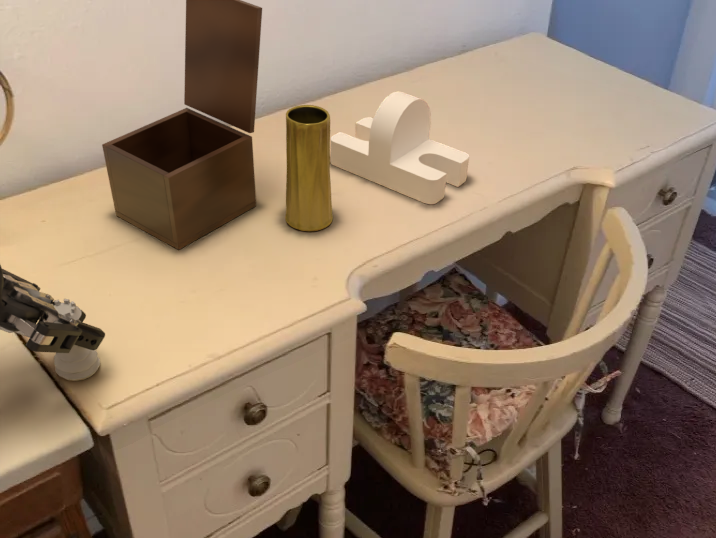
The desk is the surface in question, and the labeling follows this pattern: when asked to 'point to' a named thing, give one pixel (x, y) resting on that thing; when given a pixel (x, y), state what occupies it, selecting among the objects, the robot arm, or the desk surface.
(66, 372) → the rook chess piece
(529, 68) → the desk surface
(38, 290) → the robot arm
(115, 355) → the desk surface
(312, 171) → the vase
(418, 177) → the u-slot stand
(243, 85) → the lid
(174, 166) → the chest
